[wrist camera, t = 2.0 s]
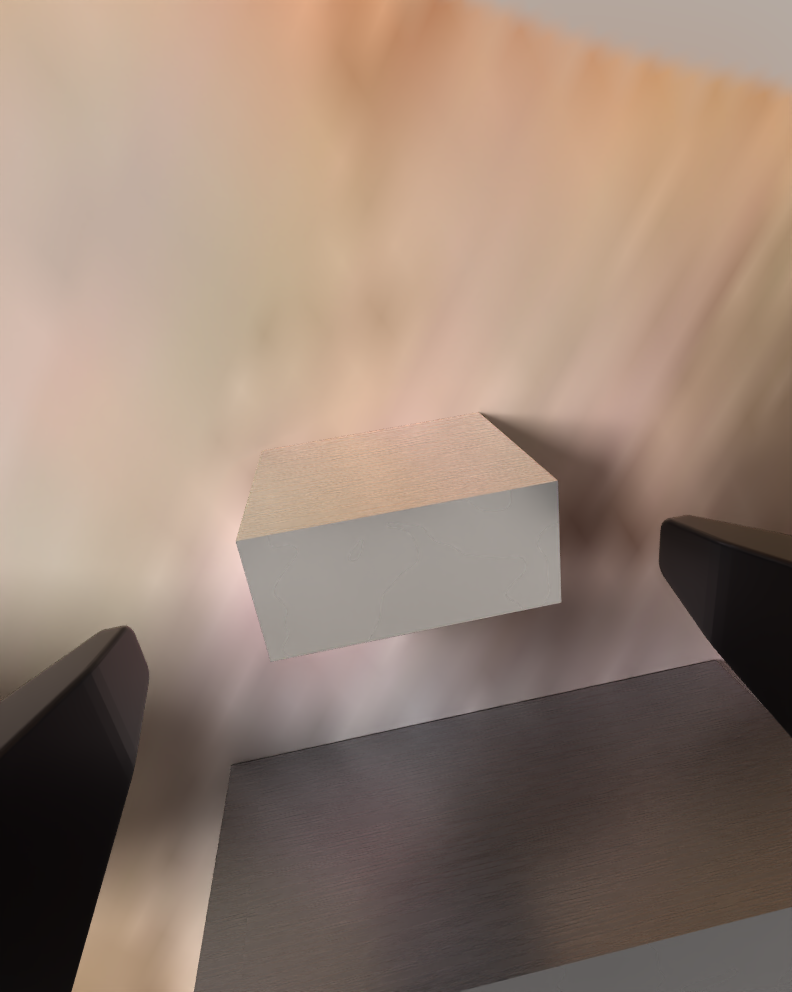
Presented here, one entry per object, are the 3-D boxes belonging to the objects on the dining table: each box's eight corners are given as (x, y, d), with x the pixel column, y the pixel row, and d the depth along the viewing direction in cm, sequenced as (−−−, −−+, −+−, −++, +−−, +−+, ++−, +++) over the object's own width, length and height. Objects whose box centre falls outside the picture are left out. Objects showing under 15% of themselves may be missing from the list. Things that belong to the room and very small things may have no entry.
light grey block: (284, 538, 15) (270, 662, 10) (262, 449, 14) (236, 541, 9) (485, 500, 15) (561, 602, 10) (478, 412, 14) (558, 480, 9)
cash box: (304, 968, 21) (300, 1266, 15) (231, 765, 17) (182, 1062, 11) (692, 872, 23) (842, 1112, 16) (715, 660, 18) (933, 870, 12)
